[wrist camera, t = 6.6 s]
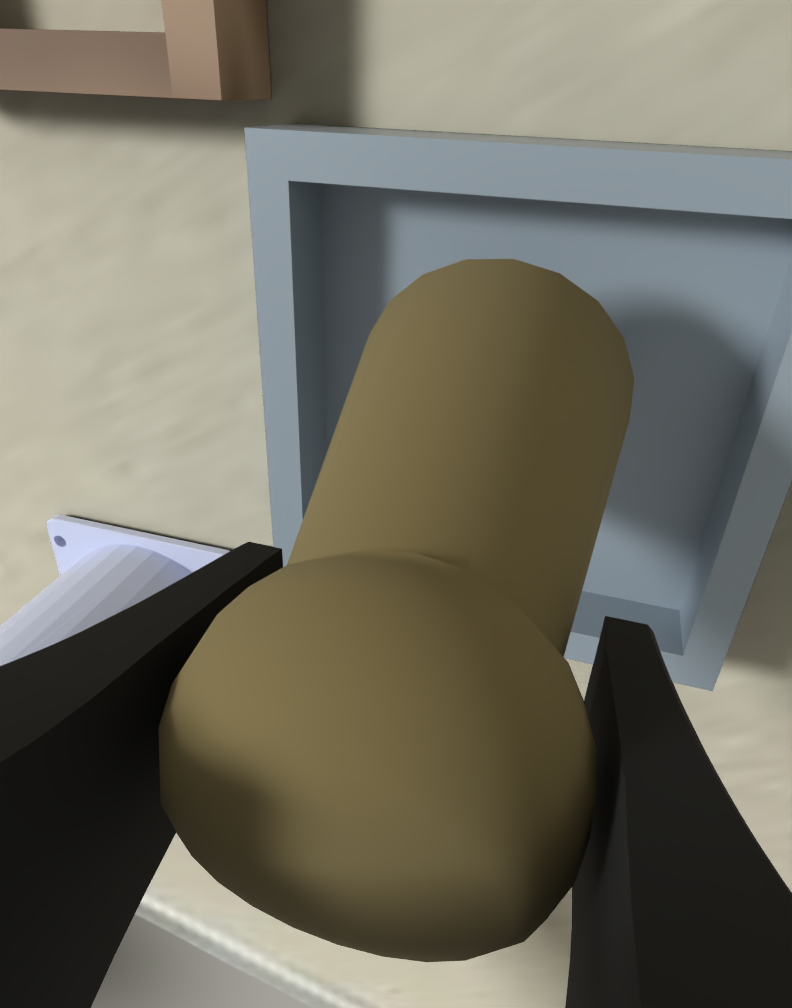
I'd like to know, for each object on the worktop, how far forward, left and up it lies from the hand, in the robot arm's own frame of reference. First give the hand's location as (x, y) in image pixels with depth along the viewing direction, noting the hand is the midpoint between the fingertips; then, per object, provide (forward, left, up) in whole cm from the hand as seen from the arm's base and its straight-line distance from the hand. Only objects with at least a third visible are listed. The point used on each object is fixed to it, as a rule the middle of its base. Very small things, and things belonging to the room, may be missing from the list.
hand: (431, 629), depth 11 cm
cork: (+2, 0, -6) cm, 7 cm away
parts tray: (0, 0, -10) cm, 10 cm away
